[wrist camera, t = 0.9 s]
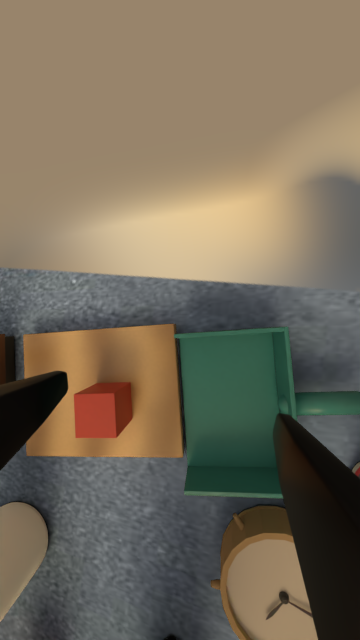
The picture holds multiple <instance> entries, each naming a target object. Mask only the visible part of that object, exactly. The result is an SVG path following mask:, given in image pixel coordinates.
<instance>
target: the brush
mask: <svg viewBox="0 0 360 640" xmlns="http://www.w3.org/2000/svg"><path fill="white" fill-rule="evenodd" d="M14 381H15V352H14V336H8V337H5V334H0V385H2V384H6V383H10V382H14Z"/></svg>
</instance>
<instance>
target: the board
mask: <svg viewBox="0 0 360 640" xmlns="http://www.w3.org/2000/svg"><path fill="white" fill-rule="evenodd" d="M174 334H177V333H176V324H162V325H149V326H135V327H121V328H108V329H94V330H80V331H67V332H53V333H40V334H26V335H23V338H24V376H25V378H29V377H33V376H37V375H41V374H45V373H49V372H52V371H57V370H58V371H64V372H66V373H67V377H68V391H67V393H66V395H65V396H64V397H63V399H62V400H61V401H60V403H59V404H58V405H57V406H56V408H55V409H54V410H53V412H52V413H51V414H50V415H49V417H48V418H47V419H46V421H45V422H44V423H43V424H42V425H41V426H40V428H39V429H38V430H37V431H36V432H35V433H34V434H33V435H32V436H31V437H30V439H29V440H28V441H27V442H26V450H27V456H85V457H180V458H182V457H183V453H184V437H183V422H182V408H181V393H180V378H179V363H178V348H177V338H174ZM114 382H131V400H132V418H133V419H132V420H131V421H130V423H129V424H128V425H127V426H126V427H125V429H124V430H123V431H122V432H121V433H120V435H119V436H118V437H117V438H75V413H74V394H75V393H77V392H80V391H82V390H84V389H86V388H88V387H90V386H92V385H94V384H96V383H114Z"/></svg>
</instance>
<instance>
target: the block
mask: <svg viewBox="0 0 360 640" xmlns="http://www.w3.org/2000/svg"><path fill="white" fill-rule="evenodd" d="M74 413H75V438H117V437H118V436H119V435H120V433H121V432H122V431H123V430H124V429H125V427H126V426H127V425H128V424H129V423H130V421H131V420H132V419H133V418H132V400H131V382H114V383H96V384H94V385H92V386H90V387H88V388H86V389H84V390H82V391H80V392H77V393H75V394H74Z"/></svg>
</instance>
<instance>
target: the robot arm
mask: <svg viewBox="0 0 360 640" xmlns="http://www.w3.org/2000/svg"><path fill="white" fill-rule="evenodd" d="M67 391H68V377H67V373H66V372H64V371H58V370H57V371H52V372H49V373H45V374H41V375H37V376H33V377H29V378H25V379H21V380H17V381H14V382H10V383H6V384H2V385H0V470H1V469H2V468H3V467H4V466H5V465H6V464H7V463H8V462H9V460H10V459H11V458H12V457H13V456H14V455H15V454H16V453H17V452H18V451H19V450H20V448H21V447H22V446H23V445H24V444H25V443H26V442H27V441H28V440H29V439H30V437H31V436H32V435H33V434H34V433H35V432H36V431H37V430H38V429H39V428H40V426H41V425H42V424H43V423H44V422H45V421H46V419H47V418H48V417H49V415H50V414H51V413H52V412H53V410H54V409H55V408H56V406H57V405H58V404H59V403H60V401H61V400H62V399H63V397H64V396H65V395H66V393H67ZM273 442H274V449H275V456H276V463H277V471H278V477H279V483H280V487H281V492H282V496H283V500H284V504H285V508H286V512H287V516H288V520H289V524H290V528H291V532H292V536H293V540H294V544H295V548H296V552H297V556H298V560H299V564H300V569H301V573H302V577H303V581H304V585H305V589H306V593H307V597H308V601H309V605H310V609H311V613H312V617H313V621H314V625H315V629H316V633H317V637H318V640H360V478H359V477H358V476H357V475H356V474H355V473H353V472H352V471H351V470H350V469H349V468H348V467H347V466H346V465H345V464H343V463H342V462H341V461H340V460H339V459H338V458H337V457H336V456H335V455H334V454H332V453H331V452H330V451H329V450H328V449H327V448H326V447H325V446H324V445H322V444H321V443H320V442H319V441H318V440H317V439H316V438H315V437H314V436H313V435H311V434H310V433H309V432H308V431H307V430H306V429H305V428H304V427H303V426H301V425H300V424H299V423H298V422H297V421H296V420H295V419H294V418H293V417H292V416H290V415H287V414H282V413H278V414H277V416H276V420H275V424H274V429H273ZM165 640H176V639H175V637H173V636H170V637H168V638H167V639H165Z"/></svg>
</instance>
